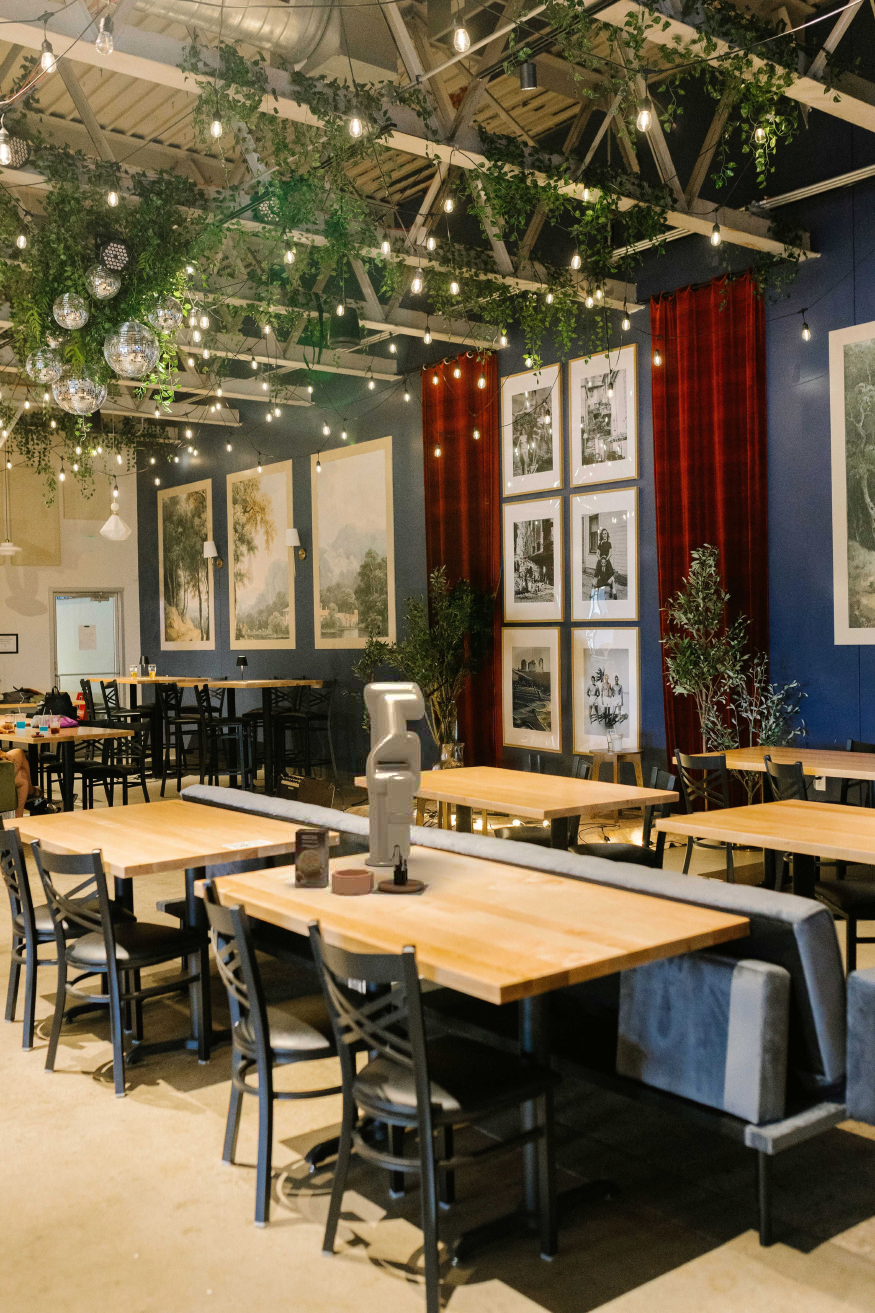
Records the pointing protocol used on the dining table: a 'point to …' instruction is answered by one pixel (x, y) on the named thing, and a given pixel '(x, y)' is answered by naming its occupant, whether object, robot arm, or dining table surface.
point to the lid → (408, 887)
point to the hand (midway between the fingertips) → (400, 883)
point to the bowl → (352, 882)
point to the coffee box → (312, 858)
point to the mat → (402, 893)
